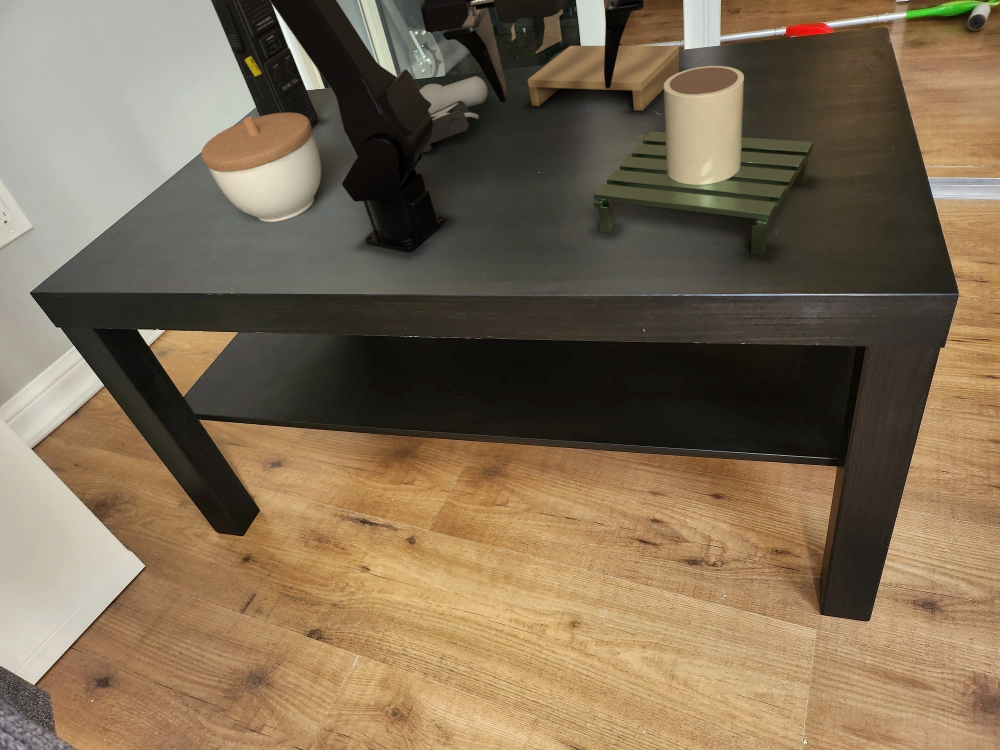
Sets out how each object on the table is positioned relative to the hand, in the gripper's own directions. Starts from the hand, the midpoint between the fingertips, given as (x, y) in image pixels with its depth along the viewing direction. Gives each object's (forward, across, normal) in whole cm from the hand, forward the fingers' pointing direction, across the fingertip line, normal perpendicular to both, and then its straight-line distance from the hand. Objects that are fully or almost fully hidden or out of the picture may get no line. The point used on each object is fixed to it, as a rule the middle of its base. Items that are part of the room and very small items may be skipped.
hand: (555, 94), depth 62 cm
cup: (+9, +12, +1) cm, 15 cm away
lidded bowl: (+13, -36, +10) cm, 40 cm away
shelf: (+13, +2, +34) cm, 37 cm away
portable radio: (+13, -44, +33) cm, 57 cm away
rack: (+13, +12, +1) cm, 18 cm away
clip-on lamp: (+13, -22, +27) cm, 37 cm away
